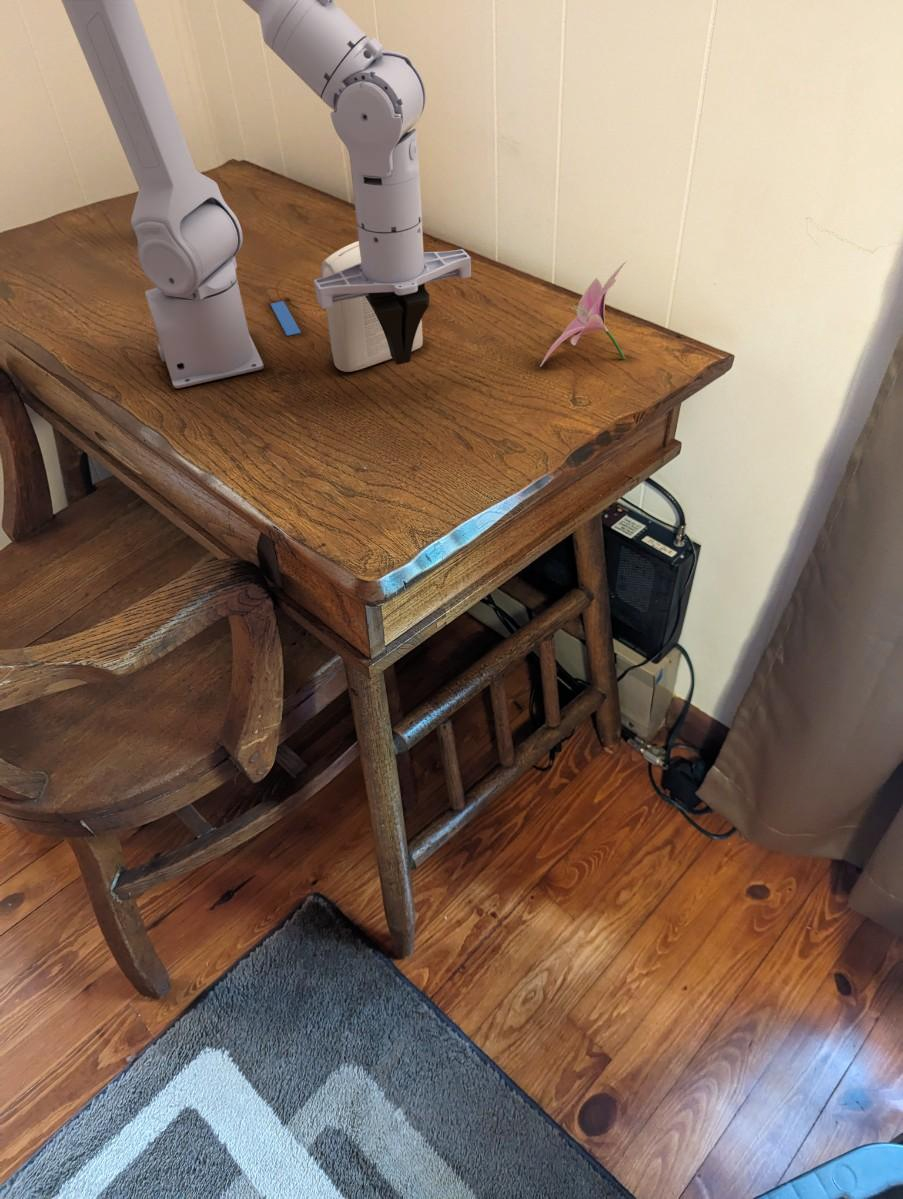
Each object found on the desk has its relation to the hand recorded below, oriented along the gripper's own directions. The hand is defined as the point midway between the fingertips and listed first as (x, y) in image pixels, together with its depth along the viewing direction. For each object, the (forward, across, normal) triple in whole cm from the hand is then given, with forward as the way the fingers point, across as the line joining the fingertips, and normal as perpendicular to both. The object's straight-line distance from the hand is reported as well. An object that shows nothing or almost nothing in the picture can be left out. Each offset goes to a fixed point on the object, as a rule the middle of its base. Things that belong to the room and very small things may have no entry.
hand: (400, 358), depth 86 cm
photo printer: (+4, 0, +8) cm, 9 cm away
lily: (+4, +20, -1) cm, 20 cm away
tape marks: (+4, 0, +20) cm, 20 cm away
